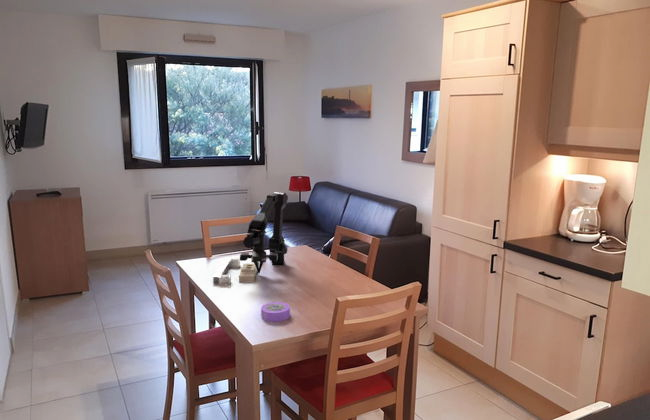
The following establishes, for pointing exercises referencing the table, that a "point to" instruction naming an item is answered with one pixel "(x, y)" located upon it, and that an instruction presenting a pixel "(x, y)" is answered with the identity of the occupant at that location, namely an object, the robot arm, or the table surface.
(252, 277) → the electrical outlet
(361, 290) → the table surface
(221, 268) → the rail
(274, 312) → the masking tape
